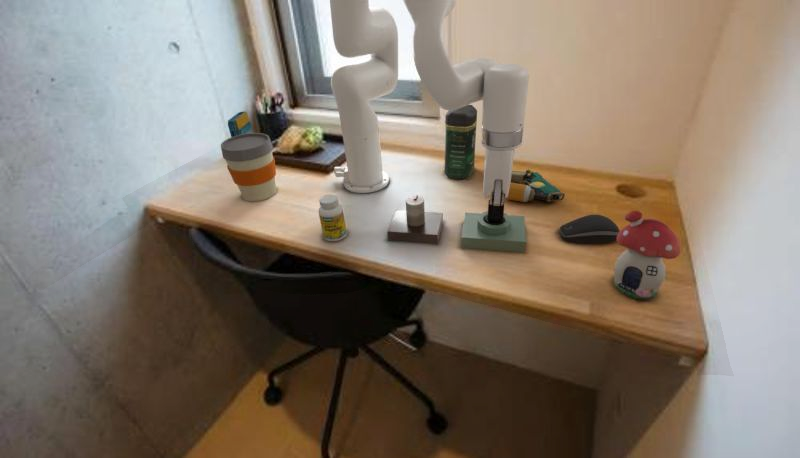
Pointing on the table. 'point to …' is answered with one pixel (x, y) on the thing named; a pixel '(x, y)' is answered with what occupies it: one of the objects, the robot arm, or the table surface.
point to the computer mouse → (590, 230)
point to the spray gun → (531, 187)
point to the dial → (415, 211)
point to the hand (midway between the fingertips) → (495, 218)
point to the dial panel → (415, 228)
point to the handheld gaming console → (240, 124)
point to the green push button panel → (494, 233)
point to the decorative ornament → (643, 256)
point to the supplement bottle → (332, 218)
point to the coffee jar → (460, 141)
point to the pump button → (493, 221)
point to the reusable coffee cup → (251, 165)
